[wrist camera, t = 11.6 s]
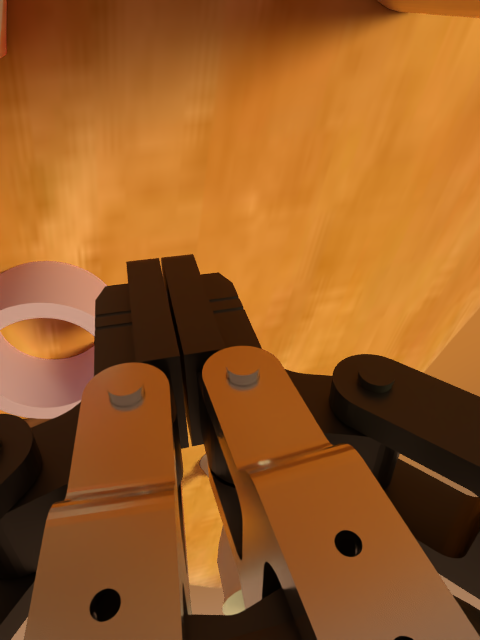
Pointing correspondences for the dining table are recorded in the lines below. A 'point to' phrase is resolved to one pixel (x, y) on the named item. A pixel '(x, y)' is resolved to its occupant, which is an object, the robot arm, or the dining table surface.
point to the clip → (45, 302)
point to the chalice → (227, 569)
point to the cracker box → (3, 27)
